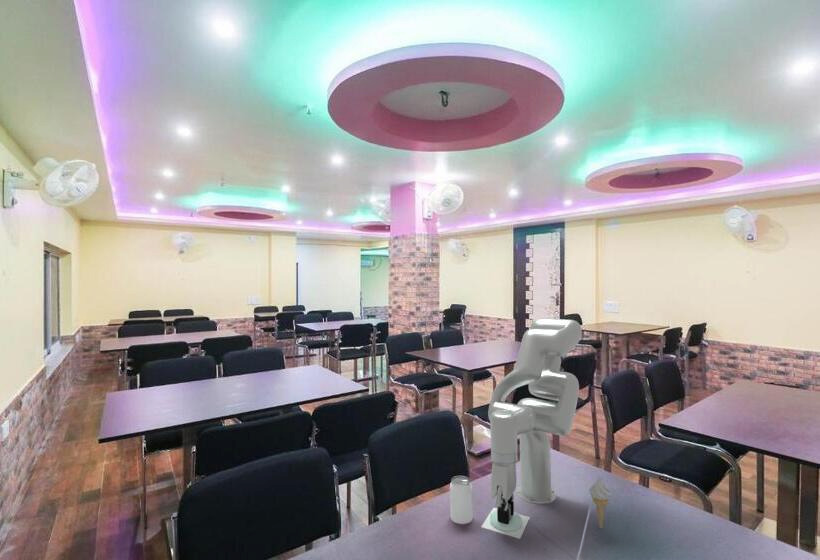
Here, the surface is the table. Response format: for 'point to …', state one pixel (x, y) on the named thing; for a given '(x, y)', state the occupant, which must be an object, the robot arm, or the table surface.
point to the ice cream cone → (600, 498)
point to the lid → (514, 521)
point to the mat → (514, 534)
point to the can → (461, 500)
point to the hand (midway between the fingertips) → (505, 517)
